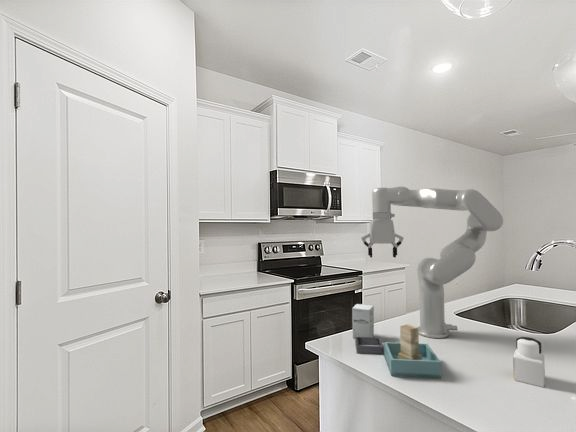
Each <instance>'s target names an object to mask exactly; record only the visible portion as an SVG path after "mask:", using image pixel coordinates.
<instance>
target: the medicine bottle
mask: <svg viewBox="0 0 576 432" xmlns="http://www.w3.org/2000/svg"><path fill="white" fill-rule="evenodd" d="M515 342H516V343H515V344H516V347H515V348H516V349H515V351H514V354H513V357H512V358H513V361H512V362H513V363H512V364H513V380H514V381H515V382H520V383H524V384H529V385H532V386H536V387H541V388H544V387H545V381H546V380H545V379H546V375H545V373H546V368H545V366H546V365H545V355H544V354H542V343H541V341H539V340H537V339H535V338H534V337H528V336H520V337H519V336H518V337H517V338H516V341H515Z"/></svg>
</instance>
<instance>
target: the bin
mask: <svg viewBox="0 0 576 432" xmlns="http://www.w3.org/2000/svg"><path fill="white" fill-rule="evenodd" d="M383 346H384V354H383V355H384V356H383V357H384V359H385V361H386V366H387V367H388V371H389V374H390V376H391V377H404V378H425V379H426V378H427V379H442V361H441V360H440V358H438V356H437V354H436V353H435V352H434V351H433V350H432V348H431V347H430V345H429V344H428V343H419V354H420V355H422V360H408V359H398V353H400V352H401V342H392V341H391V342H388V341H385V342H383Z"/></svg>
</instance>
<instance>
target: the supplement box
mask: <svg viewBox="0 0 576 432" xmlns="http://www.w3.org/2000/svg"><path fill="white" fill-rule="evenodd" d="M374 308H375V307H374V305H369V304H362V303H356V304H354V306H353V307H352V309H351V310H352V311H351V312H352V313H351V314H352V319H351V321H352V339H355V337H375V336H374V335H375V334H374V333H375V331H374V330H375V317H374V315H375V313H374V311H375V309H374Z"/></svg>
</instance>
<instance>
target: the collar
mask: <svg viewBox="0 0 576 432" xmlns="http://www.w3.org/2000/svg"><path fill="white" fill-rule="evenodd" d="M354 344H355V351H356V352H355V353H356V354H367V355H368V354H370V355H371V354H373V355H384V343H383V342H382V339H381V337H375V336H373V337H355V338H354Z"/></svg>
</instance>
